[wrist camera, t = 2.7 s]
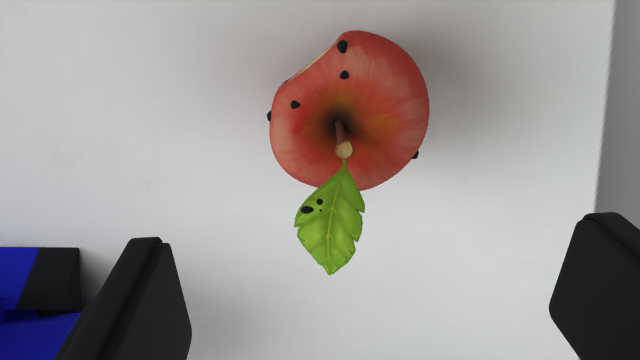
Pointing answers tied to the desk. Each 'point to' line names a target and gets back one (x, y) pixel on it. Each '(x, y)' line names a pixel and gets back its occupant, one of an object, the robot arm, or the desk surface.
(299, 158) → the apple
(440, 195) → the desk surface
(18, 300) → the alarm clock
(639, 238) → the robot arm
